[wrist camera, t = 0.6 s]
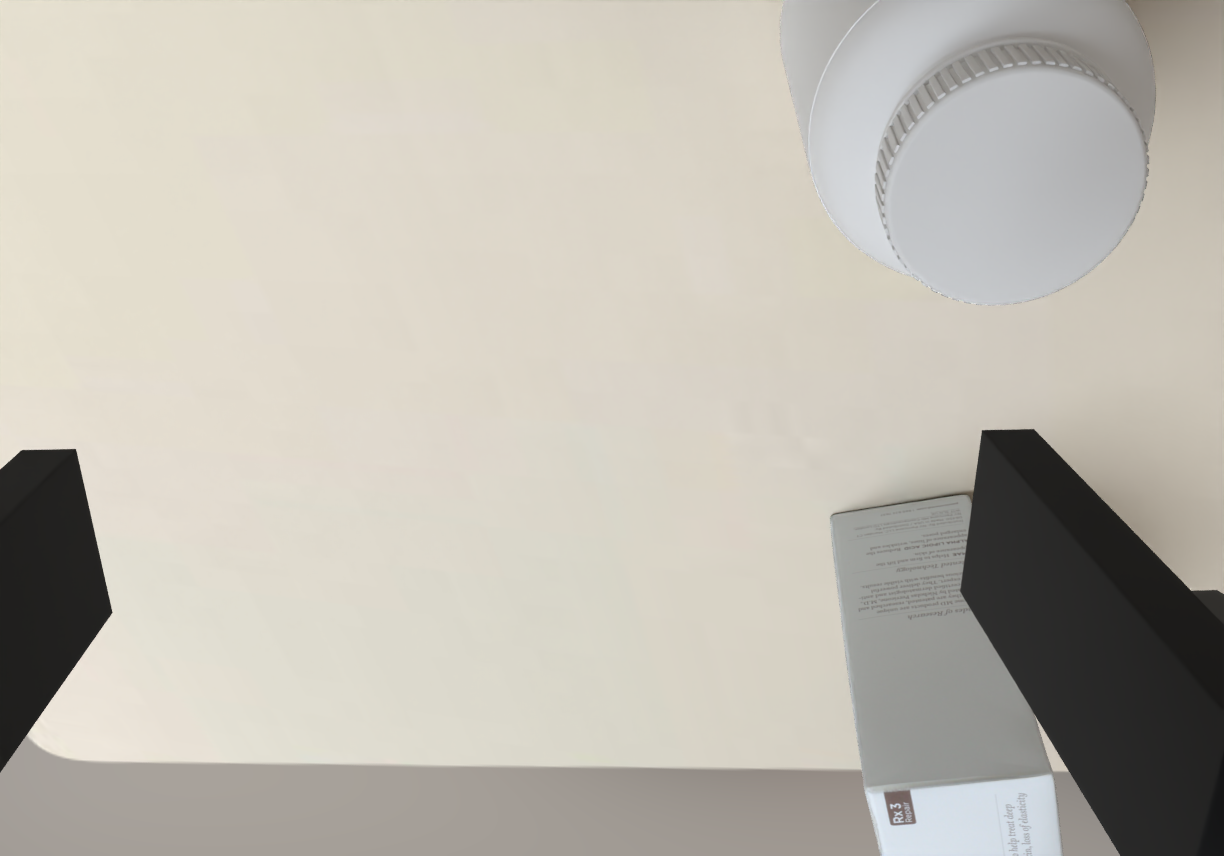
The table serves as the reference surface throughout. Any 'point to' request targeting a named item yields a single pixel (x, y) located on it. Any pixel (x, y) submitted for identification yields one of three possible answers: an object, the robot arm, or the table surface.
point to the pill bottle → (975, 134)
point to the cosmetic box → (935, 694)
